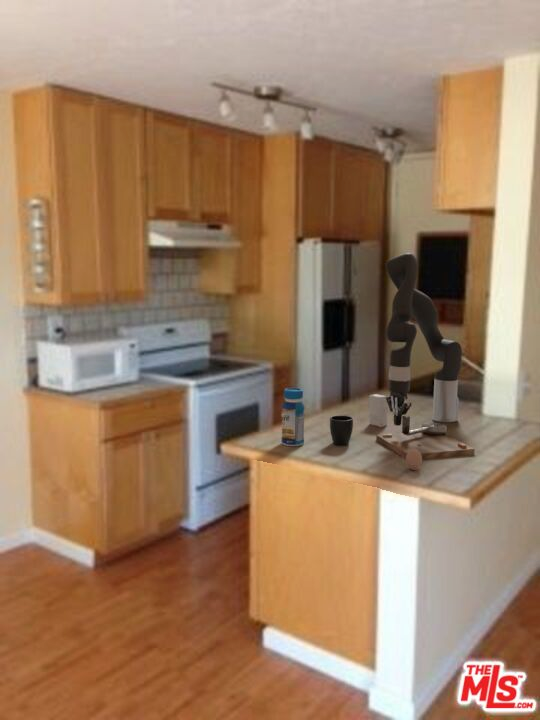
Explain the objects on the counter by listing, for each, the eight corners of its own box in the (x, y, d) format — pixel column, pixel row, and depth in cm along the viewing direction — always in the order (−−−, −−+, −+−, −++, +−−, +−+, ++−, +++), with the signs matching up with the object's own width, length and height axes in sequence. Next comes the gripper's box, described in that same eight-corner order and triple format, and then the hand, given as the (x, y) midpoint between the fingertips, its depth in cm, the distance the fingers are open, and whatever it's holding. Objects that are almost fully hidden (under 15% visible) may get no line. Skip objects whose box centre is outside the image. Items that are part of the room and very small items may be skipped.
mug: (357, 439, 249) (358, 414, 247) (348, 447, 238) (349, 421, 236) (336, 436, 252) (336, 412, 250) (326, 445, 241) (327, 419, 239)
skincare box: (387, 425, 268) (388, 395, 266) (379, 427, 266) (380, 397, 264) (375, 422, 273) (376, 393, 271) (368, 424, 270) (368, 394, 268)
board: (436, 435, 255) (437, 427, 254) (474, 454, 231) (474, 446, 230) (376, 440, 248) (376, 432, 247) (408, 460, 224) (408, 451, 223)
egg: (406, 466, 218) (406, 446, 217) (422, 468, 216) (423, 447, 215) (404, 471, 213) (405, 450, 212) (421, 473, 211) (422, 452, 210)
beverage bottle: (306, 446, 239) (307, 391, 236) (283, 447, 238) (283, 392, 235) (301, 439, 248) (302, 386, 244) (279, 440, 246) (279, 387, 243)
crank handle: (432, 427, 257) (432, 406, 255) (451, 432, 250) (452, 410, 248) (393, 437, 243) (394, 414, 242) (412, 442, 236) (413, 419, 235)
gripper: (380, 375, 245) (378, 421, 248) (401, 382, 233) (399, 430, 236) (397, 374, 248) (395, 419, 251) (419, 380, 236) (417, 428, 239)
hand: (397, 425), depth 243 cm, fingers closed
